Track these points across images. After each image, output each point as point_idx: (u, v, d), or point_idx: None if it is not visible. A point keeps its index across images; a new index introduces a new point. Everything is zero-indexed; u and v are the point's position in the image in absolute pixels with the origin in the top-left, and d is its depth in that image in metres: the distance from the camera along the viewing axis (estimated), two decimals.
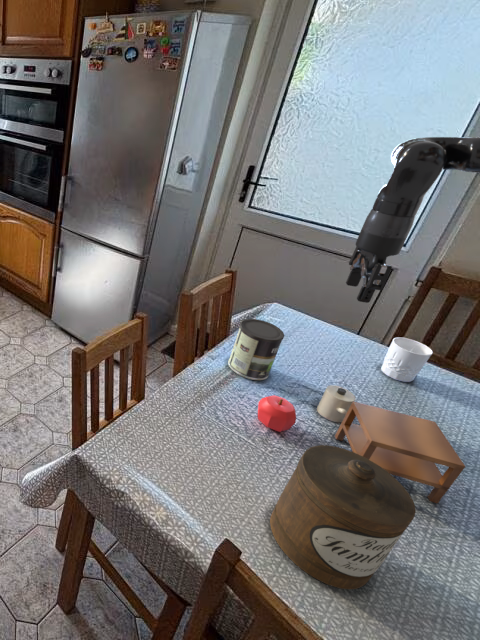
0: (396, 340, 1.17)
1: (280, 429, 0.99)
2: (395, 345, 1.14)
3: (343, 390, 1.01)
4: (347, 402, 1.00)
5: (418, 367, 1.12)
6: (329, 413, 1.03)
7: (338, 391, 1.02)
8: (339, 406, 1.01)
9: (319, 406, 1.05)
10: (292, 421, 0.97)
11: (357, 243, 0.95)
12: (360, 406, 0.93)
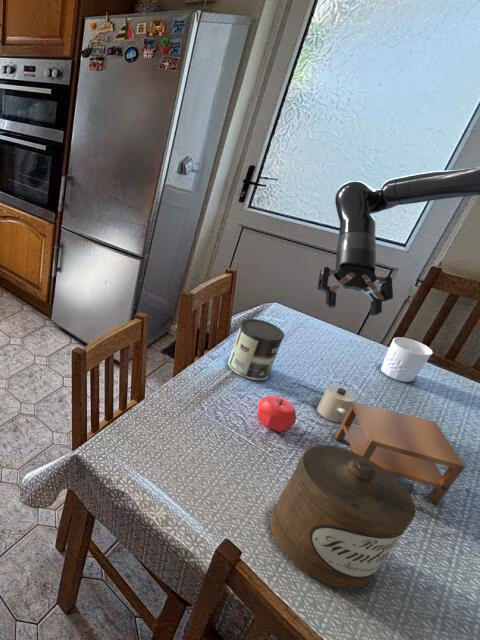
0: (396, 340, 1.17)
1: (280, 429, 0.99)
2: (395, 345, 1.14)
3: (343, 390, 1.01)
4: (347, 402, 1.00)
5: (418, 367, 1.12)
6: (329, 413, 1.03)
7: (338, 391, 1.02)
8: (339, 406, 1.01)
9: (319, 406, 1.05)
10: (292, 421, 0.97)
11: None
12: (360, 406, 0.93)
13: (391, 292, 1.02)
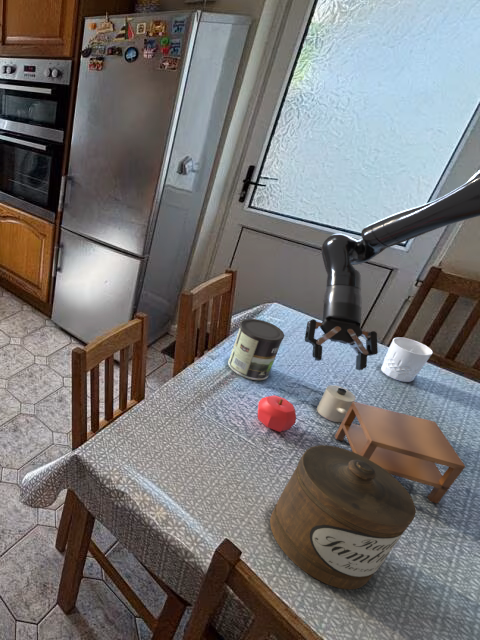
0: (396, 340, 1.17)
1: (280, 429, 0.99)
2: (395, 345, 1.14)
3: (343, 390, 1.01)
4: (347, 402, 1.00)
5: (418, 367, 1.12)
6: (329, 413, 1.03)
7: (338, 391, 1.02)
8: (339, 406, 1.01)
9: (319, 406, 1.05)
10: (292, 421, 0.97)
11: None
12: (360, 406, 0.93)
13: (376, 347, 1.04)
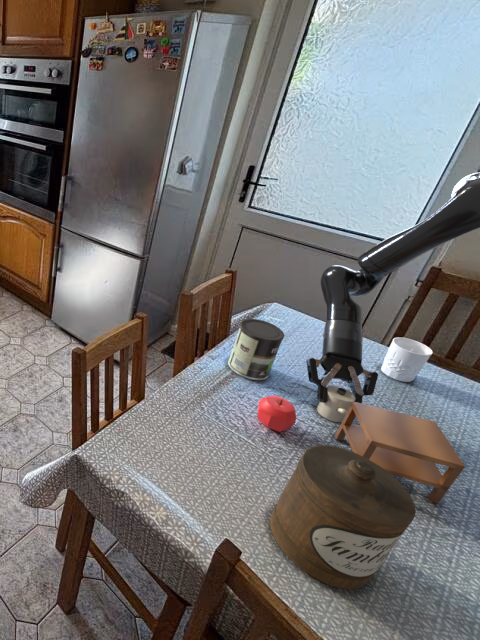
0: (396, 340, 1.17)
1: (280, 429, 0.99)
2: (395, 345, 1.14)
3: (343, 390, 1.01)
4: (347, 402, 1.00)
5: (418, 367, 1.12)
6: (329, 413, 1.03)
7: (338, 391, 1.02)
8: (339, 406, 1.01)
9: (319, 406, 1.05)
10: (292, 421, 0.97)
11: None
12: (360, 406, 0.93)
13: (373, 388, 1.00)
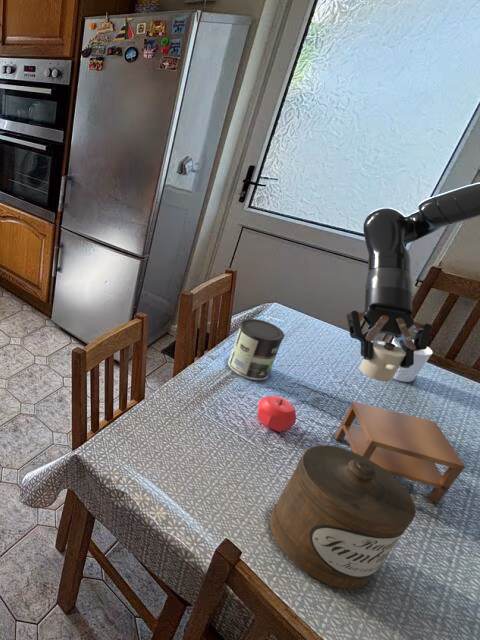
0: None
1: (280, 429, 0.99)
2: None
3: (391, 345, 0.89)
4: (397, 357, 0.88)
5: (418, 367, 1.12)
6: (375, 371, 0.91)
7: (385, 346, 0.90)
8: (387, 362, 0.89)
9: (362, 364, 0.93)
10: (292, 421, 0.97)
11: None
12: (360, 406, 0.93)
13: (426, 342, 0.88)
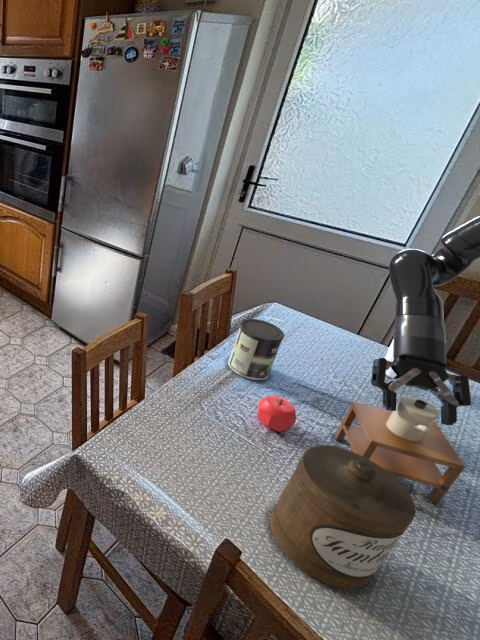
0: None
1: (280, 429, 0.99)
2: None
3: (423, 402, 0.83)
4: (429, 417, 0.81)
5: None
6: (404, 430, 0.84)
7: (416, 404, 0.83)
8: (418, 422, 0.82)
9: (390, 421, 0.87)
10: (292, 421, 0.97)
11: None
12: (360, 406, 0.93)
13: (468, 396, 0.81)
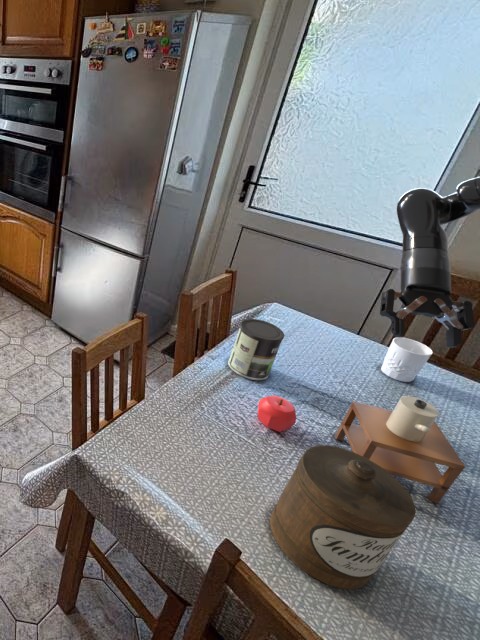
0: (396, 340, 1.17)
1: (280, 429, 0.99)
2: (395, 345, 1.14)
3: (423, 402, 0.83)
4: (429, 417, 0.81)
5: (418, 367, 1.12)
6: (404, 430, 0.84)
7: (416, 404, 0.83)
8: (418, 422, 0.82)
9: (390, 421, 0.87)
10: (292, 421, 0.97)
11: None
12: (360, 406, 0.93)
13: (472, 320, 0.86)
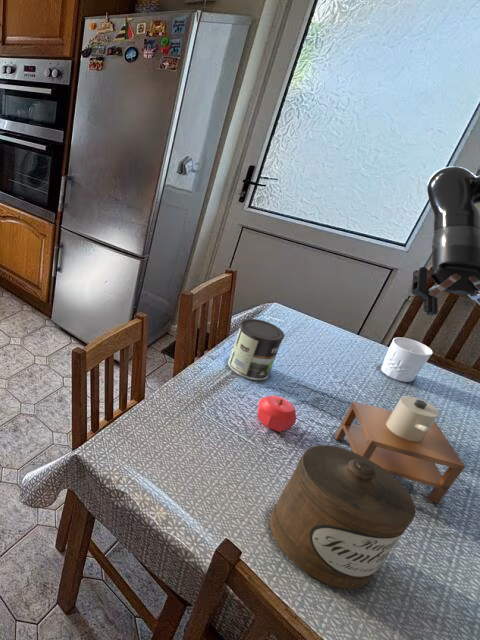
0: (396, 340, 1.17)
1: (280, 429, 0.99)
2: (395, 345, 1.14)
3: (423, 402, 0.83)
4: (429, 417, 0.81)
5: (418, 367, 1.12)
6: (404, 430, 0.84)
7: (416, 404, 0.83)
8: (418, 422, 0.82)
9: (390, 421, 0.87)
10: (292, 421, 0.97)
11: None
12: (360, 406, 0.93)
13: None
